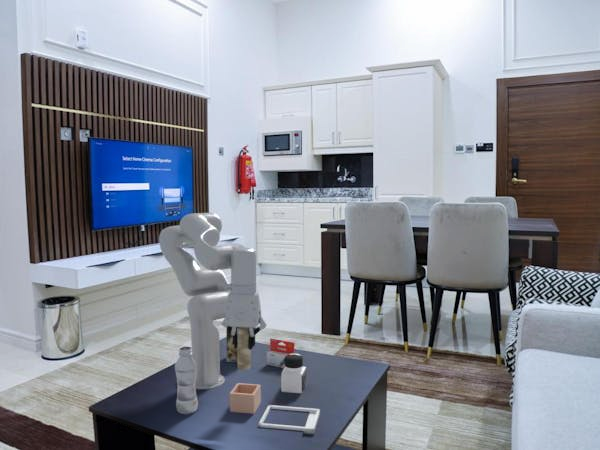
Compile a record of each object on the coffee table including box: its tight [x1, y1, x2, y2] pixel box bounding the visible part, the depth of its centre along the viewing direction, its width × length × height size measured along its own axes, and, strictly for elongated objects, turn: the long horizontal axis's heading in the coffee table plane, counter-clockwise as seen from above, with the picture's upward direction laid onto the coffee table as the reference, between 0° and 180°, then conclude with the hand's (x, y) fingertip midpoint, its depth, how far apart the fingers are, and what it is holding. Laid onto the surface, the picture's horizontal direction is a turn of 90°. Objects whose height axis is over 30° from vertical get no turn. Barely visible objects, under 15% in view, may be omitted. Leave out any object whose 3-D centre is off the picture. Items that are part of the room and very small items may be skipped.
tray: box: [257, 404, 321, 435], centre depth 142 cm, size 16×12×2 cm
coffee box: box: [225, 327, 237, 363], centre depth 190 cm, size 9×6×16 cm
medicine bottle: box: [280, 353, 307, 394], centre depth 162 cm, size 7×7×12 cm
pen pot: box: [229, 382, 262, 415], centre depth 149 cm, size 8×8×6 cm
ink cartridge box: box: [266, 338, 296, 369], centre depth 184 cm, size 2×11×10 cm, turn 61°
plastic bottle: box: [174, 346, 199, 415], centre depth 146 cm, size 6×7×20 cm
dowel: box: [236, 327, 252, 371], centre depth 148 cm, size 4×4×13 cm
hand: (244, 346), depth 148 cm, fingers closed on dowel, 4 cm apart
